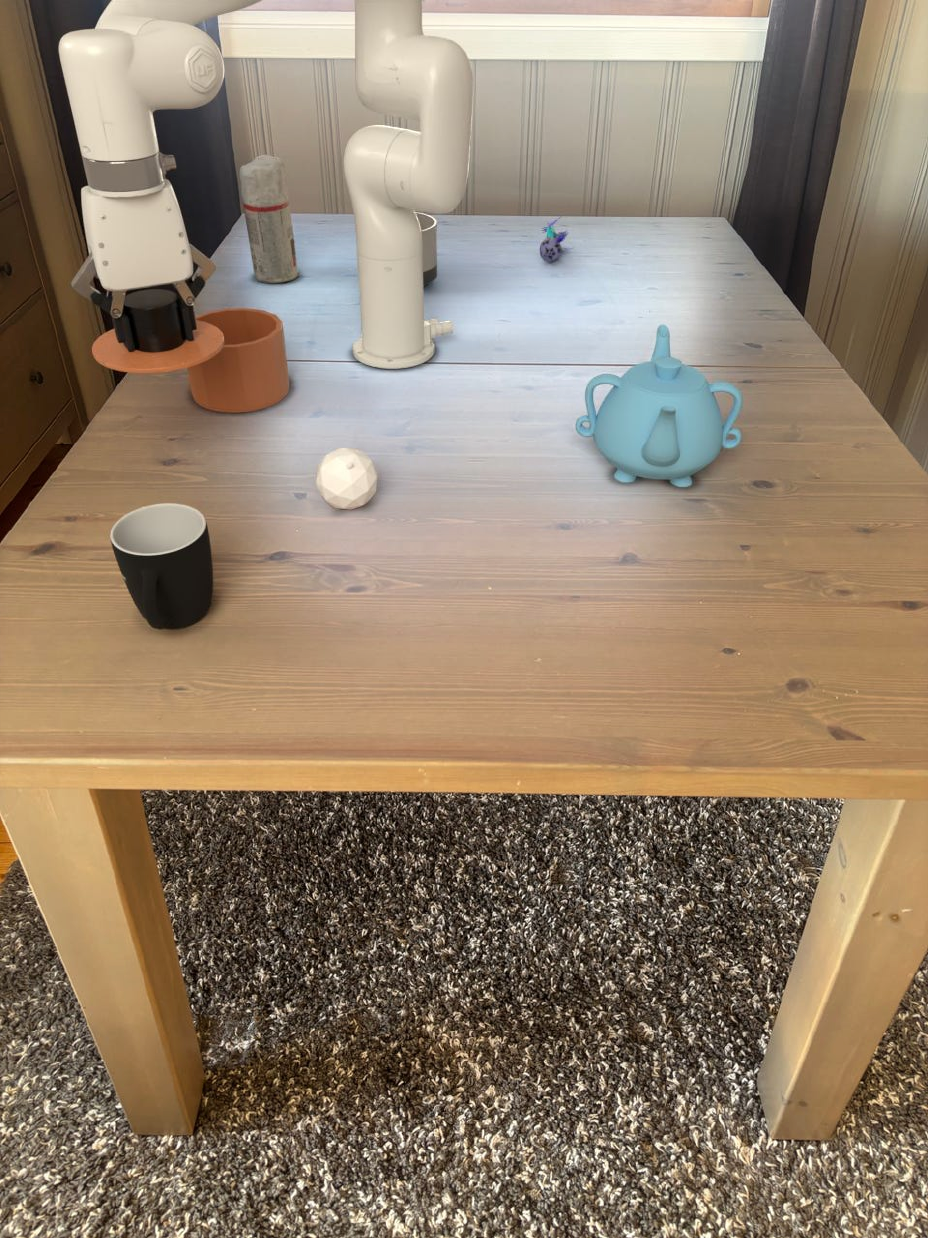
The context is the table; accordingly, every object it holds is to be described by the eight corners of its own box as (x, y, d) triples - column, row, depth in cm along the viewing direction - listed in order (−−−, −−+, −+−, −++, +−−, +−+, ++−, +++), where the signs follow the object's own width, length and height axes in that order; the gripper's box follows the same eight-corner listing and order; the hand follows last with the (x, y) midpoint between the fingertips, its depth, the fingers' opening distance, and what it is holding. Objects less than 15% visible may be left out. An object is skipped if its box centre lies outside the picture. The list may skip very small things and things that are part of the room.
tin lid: (205, 318, 116) (196, 268, 112) (241, 362, 106) (234, 309, 102) (82, 339, 110) (69, 287, 106) (109, 388, 100) (95, 333, 96)
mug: (143, 584, 99) (122, 502, 93) (229, 583, 100) (213, 501, 93) (115, 660, 90) (89, 575, 84) (209, 658, 90) (190, 574, 84)
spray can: (290, 286, 167) (276, 165, 154) (246, 283, 168) (229, 162, 156) (305, 270, 173) (294, 152, 161) (263, 267, 175) (248, 149, 162)
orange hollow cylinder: (271, 363, 142) (263, 301, 136) (303, 400, 133) (296, 335, 127) (181, 381, 137) (169, 318, 131) (208, 420, 128) (196, 354, 122)
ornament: (387, 489, 114) (394, 463, 107) (345, 530, 112) (350, 506, 104) (344, 451, 114) (348, 422, 107) (302, 491, 112) (303, 464, 105)
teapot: (650, 517, 110) (668, 408, 101) (553, 446, 123) (562, 344, 114) (751, 481, 117) (776, 375, 108) (649, 417, 130) (664, 318, 121)
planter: (450, 279, 171) (450, 218, 164) (410, 300, 162) (408, 238, 156) (393, 265, 176) (391, 206, 169) (351, 286, 167) (347, 225, 161)
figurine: (536, 221, 184) (531, 243, 175) (563, 207, 181) (559, 228, 172) (551, 251, 187) (546, 274, 178) (578, 238, 185) (574, 260, 176)
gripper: (197, 155, 102) (222, 318, 113) (29, 173, 95) (74, 343, 107) (218, 171, 97) (242, 340, 108) (42, 191, 90) (87, 368, 101)
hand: (158, 340), depth 107 cm, fingers closed on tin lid, 6 cm apart
